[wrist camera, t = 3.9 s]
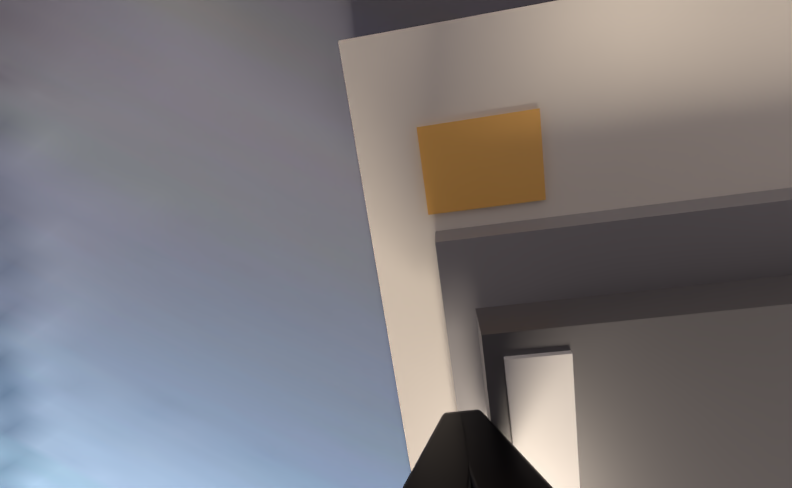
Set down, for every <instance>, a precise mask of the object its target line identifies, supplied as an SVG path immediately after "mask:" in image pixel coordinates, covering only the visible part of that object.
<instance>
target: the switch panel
mask: <svg viewBox="0 0 792 488" xmlns="http://www.w3.org/2000/svg"><path fill="white" fill-rule="evenodd" d="M338 43H339V49H340V55H341V61H342V67H343V73H344V79H345V85H346V91H347V96H348V102H349V108H350V114H351V120H352V126H353V132H354V138H355V143H356V149H357V155H358V161H359V167H360V173H361V179H362V185H363V191H364V196H365V202H366V208H367V214H368V220H369V226H370V232H371V238H372V244H373V249H374V255H375V261H376V267H377V273H378V279H379V285H380V291H381V297H382V302H383V308H384V314H385V320H386V326H387V332H388V338H389V344H390V350H391V355H392V361H393V367H394V373H395V379H396V385H397V391H398V397H399V402H400V408H401V414H402V420H403V426H404V432H405V438H406V444H407V450H408V455H409V461H410V467H411V471H412V470H413V468H414V466H415V464H416V462H417V460H418V459H419V457H420V455H421V453H422V451H423V449H424V448H425V446H426V444H427V442H428V440H429V439H430V437H431V435H432V433H433V431H434V429H435V428H436V426H437V424H438V422H439V420H440V418H441V417H442V415H443V414H444V413H446V412H456V411H466V410H476V409H478V410H481V411H482V412H483V413H484V414H485V415H486V416H487V407H486V398H485V389H484V381H483V372H482V363H481V354H480V345H479V337H478V328H477V319H476V310H475V309H476V308H485V307H495V306H504V305H513V304H523V303H532V302H541V301H551V300H560V299H569V298H579V297H588V296H597V295H607V294H616V293H626V292H635V291H644V290H654V289H663V288H672V287H682V286H691V285H700V284H710V283H719V282H728V281H738V280H747V279H756V278H766V277H775V276H784V275H792V0H557V1H551V2H546V3H540V4H535V5H530V6H524V7H519V8H513V9H508V10H502V11H497V12H492V13H486V14H481V15H475V16H470V17H464V18H459V19H454V20H448V21H443V22H437V23H432V24H426V25H421V26H416V27H410V28H405V29H399V30H394V31H388V32H383V33H378V34H372V35H367V36H361V37H356V38H350V39H345V40H339V41H338ZM487 417H488V416H487Z"/></svg>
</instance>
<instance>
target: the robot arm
mask: <svg viewBox="0 0 792 488" xmlns="http://www.w3.org/2000/svg"><path fill="white" fill-rule="evenodd" d="M403 488H553V487H552V486H551V485H550V484H549V483H548V482H547V481H546V480H545V479H544V477H543V476H542V475H541V474H540V473H539V472H538V471H537V470H536V469H535V468H534V467H533V466H532V465H531V464H530V462H529V461H528V460H527V459H526V458H525V457H524V456H523V455H522V454H521V453H520V452H519V451H518V450H517V448H516V447H515V446H514V445H513V444H512V443H511V442H510V441H509V440H508V439H507V438H506V437H505V436H504V435H503V433H502V432H501V431H500V430H499V429H498V428H497V427H496V426H495V425H494V424H493V423H492V422H491V421H490V420H489V418H488V417H487V416H486V415H485V414H484V413H483V412H482V411H481V410H478V409H476V410H466V411H456V412H446V413H444V414H443V415H442V417H441V418H440V420H439V422H438V424H437V426H436V428H435V429H434V431H433V433H432V435H431V437H430V439H429V440H428V442H427V444H426V446H425V448H424V449H423V451H422V453H421V455H420V457H419V459H418V460H417V462H416V464H415V466H414V468H413V470H412V471H411V473H410V475H409V477H408V479H407V481H406V482H405V484H404V486H403Z"/></svg>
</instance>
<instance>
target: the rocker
mask: <svg viewBox="0 0 792 488" xmlns="http://www.w3.org/2000/svg"><path fill="white" fill-rule="evenodd" d="M475 310H476V319H477V328H478V337H479V345H480V354H481V363H482V372H483V381H484V389H485V398H486V407H487V416H488V418H489V420H490V421H491V422H492V423H493V424H494V425H495V426H496V427H497V428H498V429H499V430H500V431H501V432H502V433H503V435H504V436H505V437H506V438H507V439H508V440H509V441H510V442H511V443H512V444H513V445H514V446H515V447H516V448H517V450H518V451H519V452H520V453H521V454H522V455H523V456H524V457H525V458H526V459H527V460H528V461H529V462H530V464H531V465H532V466H533V467H534V468H535V469H536V470H537V471H538V472H539V473H540V474H541V475H542V476H543V477H544V479H545V480H546V481H547V482H548V483H549V484H550V485H551V486H552V487H553V488H792V275H784V276H775V277H766V278H756V279H747V280H738V281H728V282H719V283H710V284H700V285H691V286H682V287H672V288H663V289H654V290H644V291H635V292H626V293H616V294H607V295H597V296H588V297H579V298H569V299H560V300H551V301H541V302H532V303H523V304H513V305H504V306H495V307H485V308H476V309H475Z"/></svg>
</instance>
